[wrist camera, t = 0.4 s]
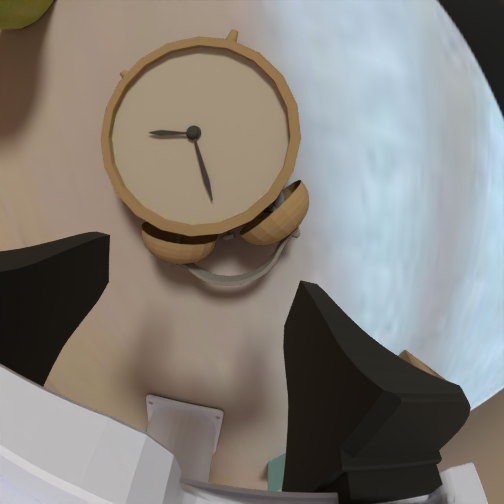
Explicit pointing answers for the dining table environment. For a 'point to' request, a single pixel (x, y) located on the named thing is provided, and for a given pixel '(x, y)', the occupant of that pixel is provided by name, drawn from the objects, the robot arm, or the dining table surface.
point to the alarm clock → (205, 151)
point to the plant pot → (21, 12)
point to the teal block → (276, 473)
